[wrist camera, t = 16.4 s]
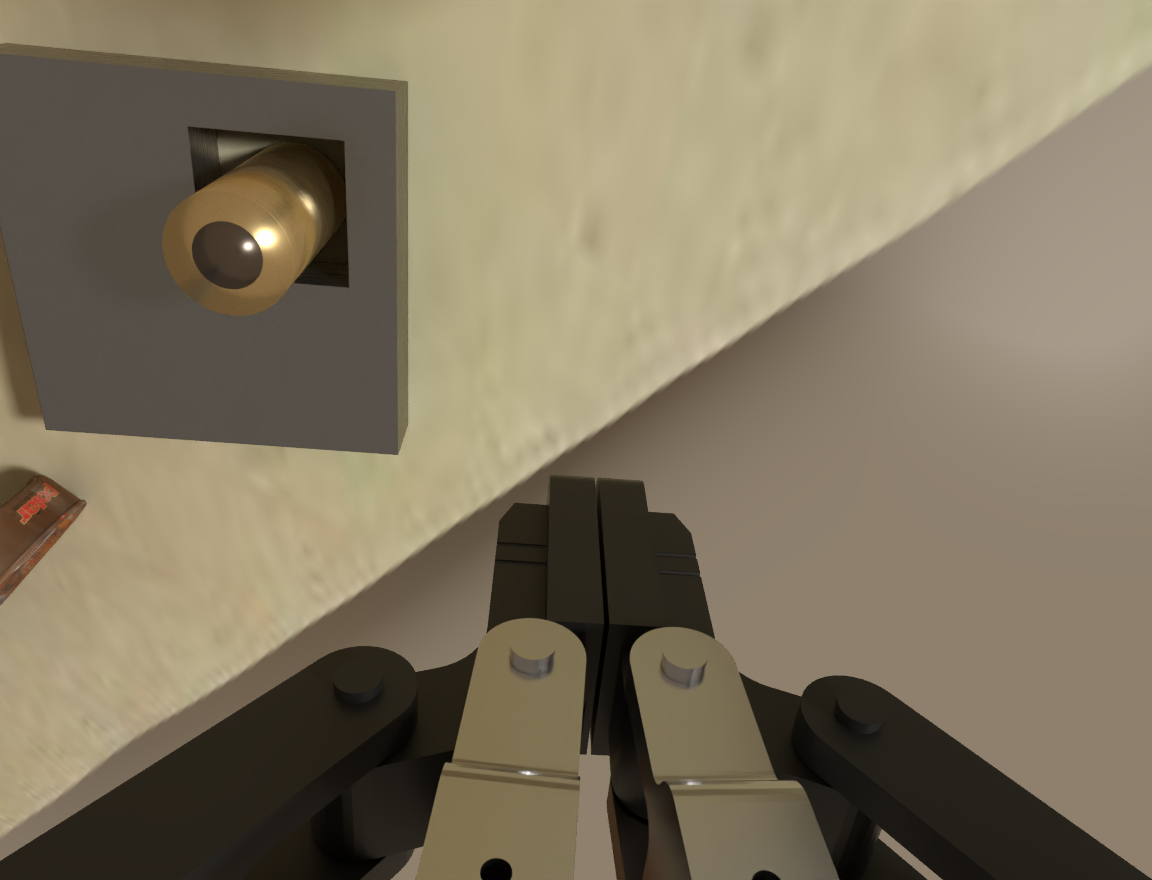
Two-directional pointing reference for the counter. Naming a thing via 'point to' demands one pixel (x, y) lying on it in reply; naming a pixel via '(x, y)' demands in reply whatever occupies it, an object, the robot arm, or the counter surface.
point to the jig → (140, 275)
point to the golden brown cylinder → (254, 229)
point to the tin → (32, 528)
